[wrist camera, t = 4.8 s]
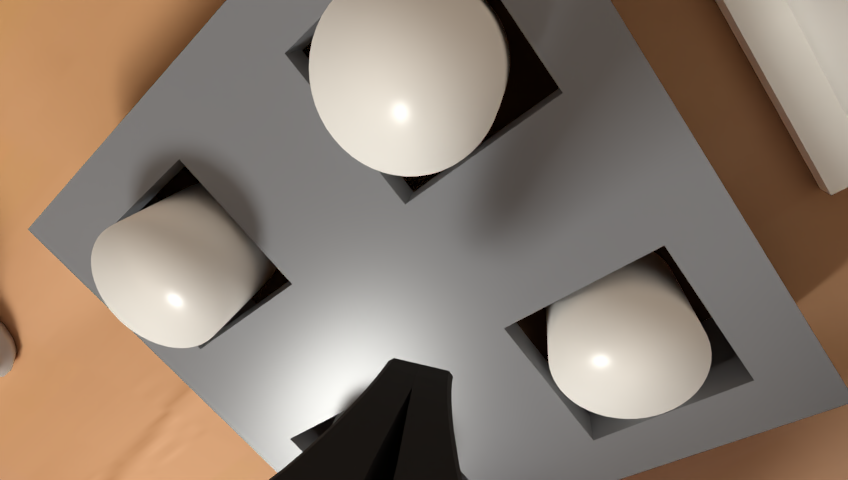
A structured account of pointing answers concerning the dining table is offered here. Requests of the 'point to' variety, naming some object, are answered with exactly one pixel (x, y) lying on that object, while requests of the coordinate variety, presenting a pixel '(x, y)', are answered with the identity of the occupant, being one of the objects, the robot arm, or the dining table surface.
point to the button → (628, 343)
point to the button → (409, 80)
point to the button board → (451, 249)
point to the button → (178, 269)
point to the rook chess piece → (6, 350)
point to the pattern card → (802, 74)
